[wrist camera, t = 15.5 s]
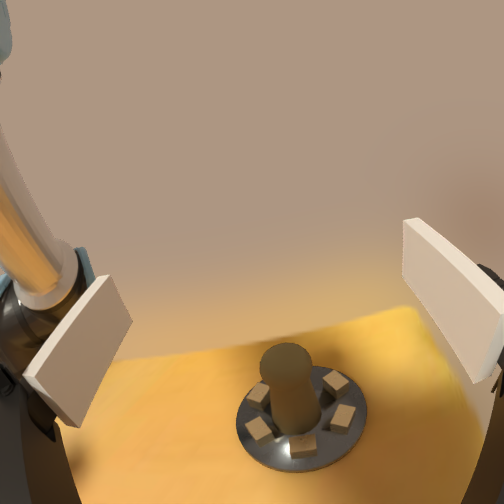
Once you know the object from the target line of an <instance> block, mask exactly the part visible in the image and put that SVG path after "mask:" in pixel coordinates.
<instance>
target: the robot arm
mask: <svg viewBox="0 0 504 504" xmlns="http://www.w3.org/2000/svg"><path fill="white" fill-rule="evenodd" d="M11 49H12V35H11V30H10V19H9V14H8V9H7V5H6V0H0V65H1V64H2V63H3V62H4V61H5V60H6V59H7V58H8V57H9V55H10V53H11ZM1 80H2V77H1V72H0V82H1ZM0 267H1V268H2V269H3V271H4V272H5V274H3V275H1V276H0V504H82V503H81V500H80V498H79V495H78V492H77V489H76V486H75V483H74V480H73V477H72V474H71V471H70V467H69V464H68V460H67V457H66V453H65V449H64V445H63V441H62V437H61V432H60V428H59V426H58V424H57V423H56V422H55V421H54V420H55V418H56V416H58V417H59V418H60V419H61V420H62V421H63V422H64V424H65V425H67V426H72V427H77V428H80V427H81V424H82V422H83V420H84V418H85V415H86V413H87V411H88V409H89V407H90V405H91V402H92V400H93V398H94V396H95V394H96V392H97V390H98V388H99V386H100V384H101V382H102V380H103V378H104V375H105V373H106V371H107V369H108V367H109V365H110V364H111V362H112V360H113V358H114V356H115V354H116V351H117V350H118V348H119V346H120V344H121V342H122V340H123V338H124V337H125V335H126V333H127V331H128V329H129V327H130V325H131V324H132V322H133V321H132V319H131V317H130V315H129V313H128V311H127V309H126V307H125V305H124V303H123V301H122V299H121V297H120V294H119V293H118V291H117V288H116V286H115V284H114V282H113V279H112V277H111V275H104V276H99V277H98V278H97V279H95V276H94V273H93V270H92V267H91V264H90V261H89V257H88V254H87V251H86V249H85V248H84V247H80V248H74V250H73V249H72V247H71V246H70V245H69V244H68V243H67V242H65V241H63V240H61V239H56V238H54V236H53V234H52V233H51V231H50V229H49V227H48V226H47V224H46V222H45V220H44V219H43V217H42V215H41V213H40V212H39V210H38V208H37V206H36V204H35V202H34V200H33V198H32V196H31V194H30V192H29V190H28V188H27V186H26V184H25V182H24V180H23V178H22V176H21V174H20V172H19V169H18V167H17V165H16V163H15V161H14V158H13V156H12V153H11V151H10V149H9V146H8V144H7V141H6V139H5V136H4V133H3V131H2V128H1V125H0ZM402 277H403V278H404V280H405V281H406V282H407V284H408V285H409V286H410V288H411V289H412V291H413V292H414V293H415V295H416V296H417V297H418V299H419V300H420V302H421V303H422V304H423V306H424V307H425V309H426V310H427V312H428V313H429V314H430V316H431V317H432V319H433V320H434V322H435V323H436V325H437V326H438V328H439V329H440V331H441V332H442V334H443V335H444V337H445V338H446V340H447V341H448V343H449V344H450V346H451V347H452V349H453V351H454V352H455V354H456V356H457V357H458V359H459V361H460V362H461V364H462V365H463V367H464V368H465V370H466V372H467V374H468V376H469V377H470V379H471V381H472V383H473V384H475V383H477V382H479V381H481V380H483V379H486V378H487V377H490V376H491V375H492V373H493V371H494V369H495V366H496V364H497V363H498V364H499V366H500V367H501V369H502V371H501V373H500V375H499V377H498V379H497V381H496V383H495V385H494V386H493V388H492V391H491V392H492V393H494V391H495V389H496V388H497V391H496V396H495V401H494V406H493V410H492V415H491V419H490V423H489V427H488V430H487V434H486V438H485V441H484V444H483V448H482V451H481V454H480V457H479V460H478V463H477V466H476V468H475V471H474V474H473V476H472V479H471V481H470V484H469V486H468V489H467V491H466V493H465V496H464V498H463V500H462V502H461V504H504V281H503V280H502V279H500V277H498V275H497V274H496V273H494V272H493V271H492V270H491V269H489V268H487V267H485V266H483V265H481V264H477V265H476V264H474V263H473V262H472V261H471V260H470V259H469V258H468V257H467V256H465V255H464V254H463V253H462V252H461V251H460V250H458V249H457V248H456V247H455V246H453V245H452V244H451V243H450V242H449V241H448V240H446V239H445V238H444V237H443V236H441V235H440V234H439V233H437V232H436V231H435V230H434V229H433V228H431V227H430V226H428V225H427V224H426V223H424V222H423V221H422V220H421V219H419V218H413V219H407V220H403V271H402Z"/></svg>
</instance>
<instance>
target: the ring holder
mask: <svg viewBox="0 0 504 504" xmlns="http://www.w3.org/2000/svg"><path fill="white" fill-rule="evenodd" d="M310 380H311V383H312V385H313V388H314V391H315V393H316V396H317V399H318V402H319V404H320V407H321V412H322V415H321V420H320V421H319V423H318V424H317V426H316V427H315V428H314V429H312V430H311V431H309V432H307V433H305V434H302V435H295V436H294V435H286V434H284V433H282V432H280V431H279V430H277V429H276V428H275V426H274V424H273V422H272V412H271V401H270V389H269V386H268V385H267V384H266V383H265V382H264V381H263V380H262V381H261V382H258V383H257V384H256V385H255V386H254V387H253V388H252V389H251V390H250V391H249V393H248V394H247V395H246V396H245V398H244V399H243V401H242V403H241V405H240V407H239V410H238V413H237V418H236V429H237V434H238V437H239V440H240V441H241V443H242V445H243V447H244V449H245V450H246V451H247V452H248V454H249V455H250V456H251V457H252V458H253V459H254V460H256V461H257V462H259V463H260V464H262V465H264V466H266V467H268V468H270V469H274V470H277V471H281V472H288V473H302V472H310V471H315V470H318V469H321V468H324V467H327V466H329V465H331V464H333V463H335V462H336V461H338V460H340V459H341V458H342V457H344V456H345V455H346V454H347V453H348V452H349V451H350V450H351V449H352V448H353V447H354V446H355V445H356V443H357V442H358V440H359V439H360V437H361V435H362V433H363V430H364V427H365V423H366V416H367V406H366V401H365V398H364V395H363V393H362V391H361V390H360V388H359V387H358V386H357V384H356V383H355V382H354V381H353V380H351V379H350V378H349V377H347V376H346V375H344V374H342V373H340V372H338V371H336V370H333V369H329V368H325V367H318V366H312V371H311V375H310Z"/></svg>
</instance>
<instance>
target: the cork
mask: <svg viewBox="0 0 504 504" xmlns="http://www.w3.org/2000/svg"><path fill="white" fill-rule="evenodd" d="M311 371H312V361H311V357H310V355H309V353H308V352H307V351H306V350H305V349H304V348H303V347H301V346H299V345H297V344H294V343H282V344H278V345H275V346H273V347H271V348H270V349H268V350H267V351H266V352H265V354H264V355H263V357H262V359H261V361H260V374H261V377H262V379H263V381H264V382H265V383H266V384H267V385H268V386H269V389H270V401H271V412H272V422H273V424H274V426H275V428H276V429H277V430H279V431H280V432H282V433H284V434H286V435H294V436H295V435H302V434H305V433H307V432H309V431H311V430H312V429H314V428H315V427H316V426H317V424H318V423H319V421H320V420H321V415H322V412H321V407H320V404H319V402H318V399H317V396H316V393H315V391H314V388H313V385H312V383H311V380H310V375H311Z"/></svg>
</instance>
